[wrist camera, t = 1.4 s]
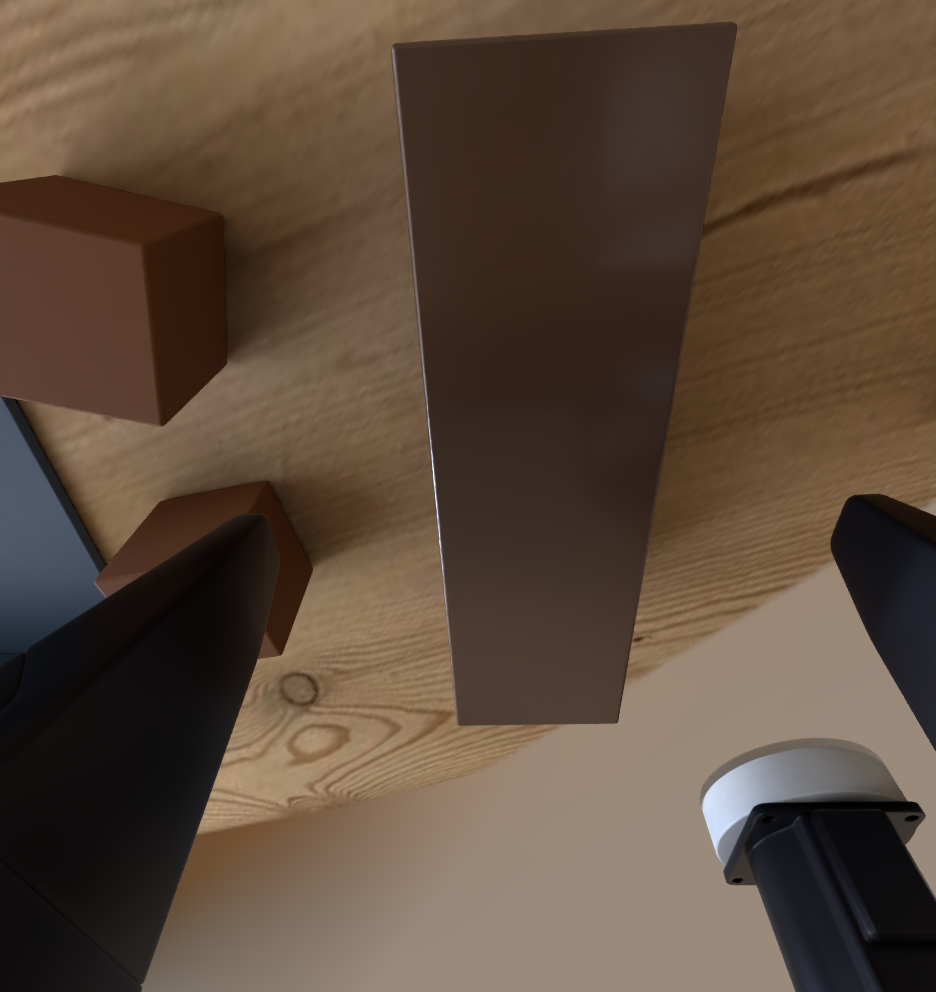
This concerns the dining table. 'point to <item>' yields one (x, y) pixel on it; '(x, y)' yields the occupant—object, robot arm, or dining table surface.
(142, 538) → the crumb
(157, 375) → the crumb
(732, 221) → the dining table surface
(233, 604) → the robot arm
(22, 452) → the dustpan
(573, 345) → the brown long block
